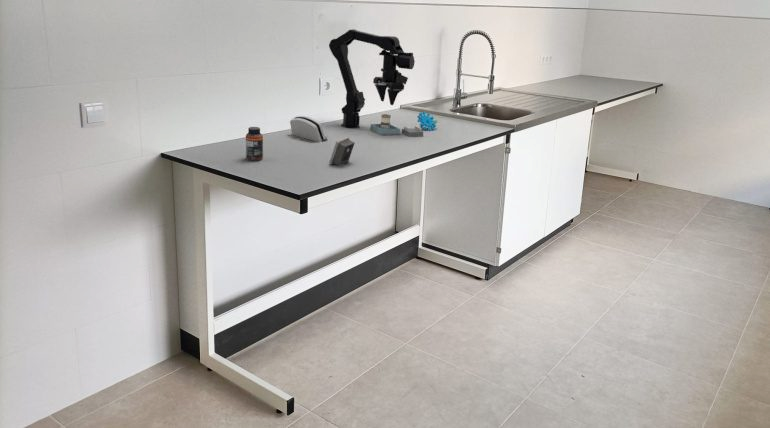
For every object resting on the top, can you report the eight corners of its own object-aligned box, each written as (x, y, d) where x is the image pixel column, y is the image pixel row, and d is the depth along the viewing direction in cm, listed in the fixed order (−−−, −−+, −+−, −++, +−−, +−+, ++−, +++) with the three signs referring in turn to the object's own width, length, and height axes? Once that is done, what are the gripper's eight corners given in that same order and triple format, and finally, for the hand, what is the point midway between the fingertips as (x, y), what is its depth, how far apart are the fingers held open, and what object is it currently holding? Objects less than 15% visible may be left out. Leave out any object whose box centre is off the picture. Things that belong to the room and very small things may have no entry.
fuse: (382, 132, 289) (383, 116, 287) (378, 130, 293) (379, 114, 290) (391, 131, 291) (392, 116, 289) (387, 129, 294) (388, 114, 292)
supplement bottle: (255, 156, 239) (255, 125, 235) (266, 159, 235) (266, 128, 231) (242, 158, 234) (242, 127, 231) (253, 162, 231) (253, 130, 227)
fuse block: (408, 137, 286) (409, 129, 285) (401, 133, 292) (402, 125, 291) (423, 136, 289) (423, 128, 288) (415, 132, 295) (416, 125, 294)
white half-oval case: (328, 140, 269) (323, 118, 264) (320, 145, 266) (315, 123, 261) (300, 132, 279) (295, 111, 273) (292, 137, 276) (286, 116, 271)
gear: (422, 128, 297) (416, 109, 301) (415, 135, 302) (409, 116, 306) (441, 130, 303) (435, 112, 307) (434, 137, 308) (428, 119, 312)
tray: (381, 135, 285) (381, 129, 285) (370, 129, 295) (370, 124, 294) (399, 134, 289) (400, 128, 289) (388, 129, 299) (388, 123, 298)
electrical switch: (340, 159, 243) (343, 135, 240) (352, 162, 242) (356, 138, 238) (328, 164, 235) (331, 139, 231) (341, 168, 233) (345, 143, 230)
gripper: (416, 70, 278) (413, 106, 283) (396, 64, 294) (394, 99, 299) (392, 69, 273) (390, 107, 279) (373, 63, 289) (371, 99, 294)
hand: (387, 103), depth 288 cm, fingers open, 9 cm apart
